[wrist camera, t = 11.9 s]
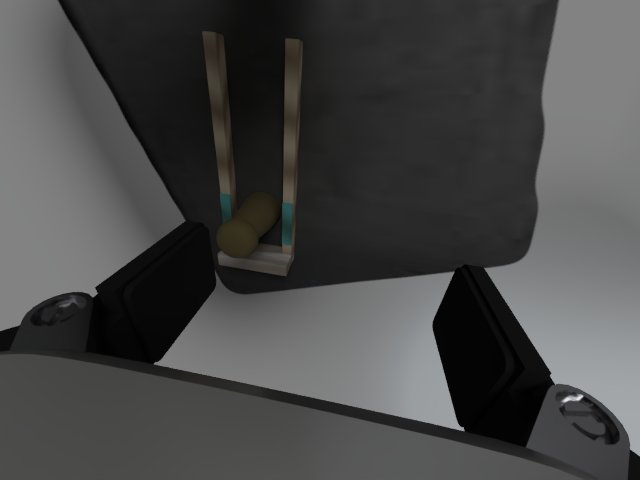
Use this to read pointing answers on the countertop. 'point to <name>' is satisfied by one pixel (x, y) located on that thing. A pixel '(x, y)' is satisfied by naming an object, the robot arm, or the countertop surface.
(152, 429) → the robot arm
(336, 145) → the countertop surface
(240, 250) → the dark brown rounded piece
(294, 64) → the guide channel
